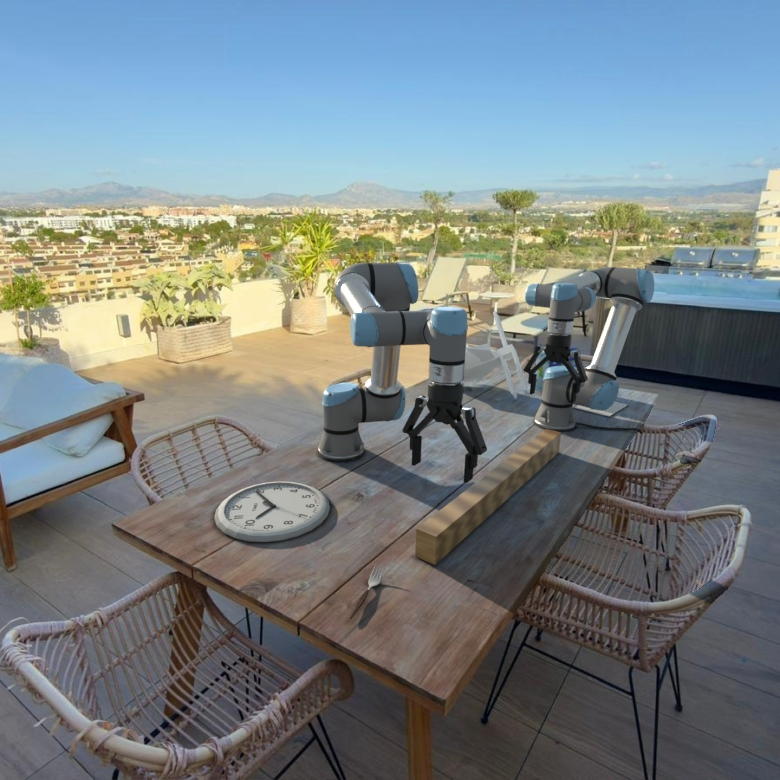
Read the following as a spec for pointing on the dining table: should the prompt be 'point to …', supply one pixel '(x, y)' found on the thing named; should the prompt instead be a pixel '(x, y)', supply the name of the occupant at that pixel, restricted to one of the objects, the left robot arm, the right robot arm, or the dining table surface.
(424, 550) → the bar
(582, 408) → the invitation card
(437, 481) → the dining table surface
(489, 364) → the white plastic object
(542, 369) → the lunch box
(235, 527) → the wall clock
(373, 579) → the fork
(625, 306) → the right robot arm
